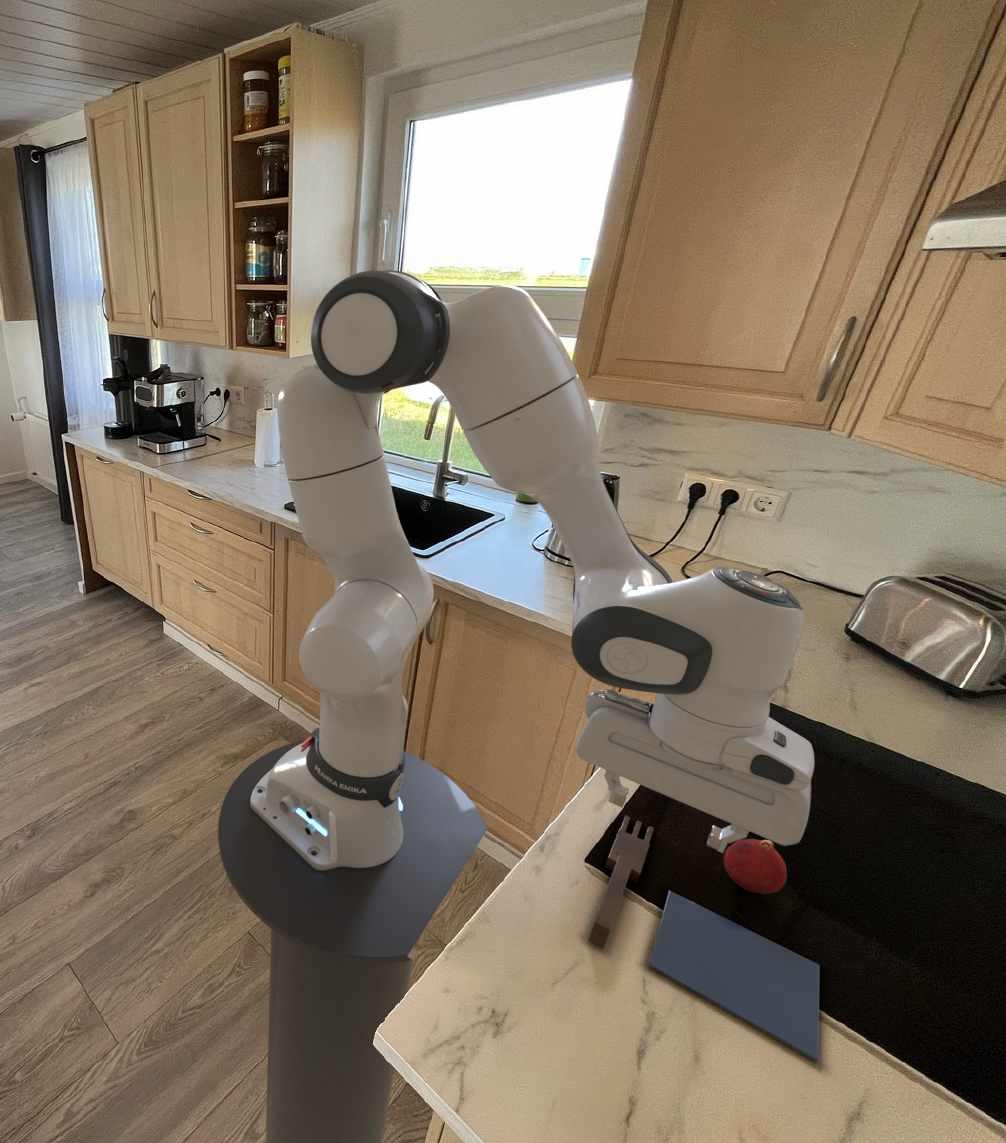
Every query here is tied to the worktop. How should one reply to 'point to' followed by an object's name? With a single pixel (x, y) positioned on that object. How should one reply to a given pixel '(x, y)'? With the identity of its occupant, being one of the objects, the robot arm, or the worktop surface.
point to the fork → (620, 876)
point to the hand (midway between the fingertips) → (663, 823)
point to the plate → (740, 973)
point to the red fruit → (755, 866)
